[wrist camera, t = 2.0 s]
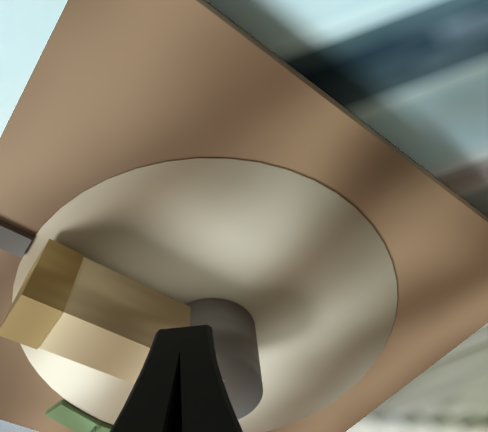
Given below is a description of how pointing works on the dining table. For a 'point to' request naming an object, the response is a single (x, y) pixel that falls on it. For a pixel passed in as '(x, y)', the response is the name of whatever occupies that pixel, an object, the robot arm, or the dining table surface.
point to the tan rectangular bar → (125, 322)
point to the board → (228, 216)
